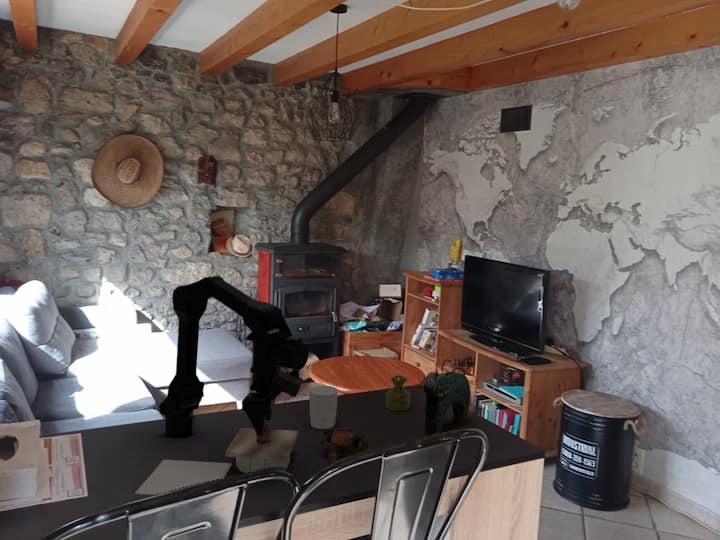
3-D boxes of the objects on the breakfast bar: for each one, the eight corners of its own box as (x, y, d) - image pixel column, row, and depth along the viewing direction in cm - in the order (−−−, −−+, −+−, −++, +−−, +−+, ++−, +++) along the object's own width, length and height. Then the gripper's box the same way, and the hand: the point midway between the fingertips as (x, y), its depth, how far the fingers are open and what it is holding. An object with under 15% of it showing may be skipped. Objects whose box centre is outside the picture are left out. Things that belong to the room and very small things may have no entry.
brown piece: (316, 466, 140) (314, 430, 143) (330, 468, 148) (328, 434, 152) (365, 459, 137) (362, 423, 140) (376, 462, 146) (373, 428, 149)
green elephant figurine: (435, 440, 156) (439, 367, 154) (414, 433, 160) (418, 361, 158) (473, 421, 171) (477, 353, 169) (453, 415, 175) (457, 349, 173)
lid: (225, 460, 131) (225, 438, 130) (240, 435, 145) (241, 415, 144) (288, 464, 130) (288, 441, 129) (297, 438, 144) (298, 418, 143)
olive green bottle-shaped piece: (402, 413, 175) (403, 380, 174) (380, 408, 179) (382, 375, 178) (414, 406, 181) (415, 375, 180) (393, 401, 185) (394, 370, 184)
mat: (134, 496, 122) (134, 493, 122) (163, 462, 138) (163, 459, 138) (211, 500, 121) (211, 498, 121) (232, 465, 137) (232, 463, 137)
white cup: (333, 431, 160) (334, 395, 158) (304, 428, 161) (305, 392, 160) (339, 421, 167) (341, 386, 166) (312, 418, 169) (313, 384, 168)
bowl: (230, 476, 132) (230, 454, 131) (243, 453, 144) (243, 433, 143) (284, 479, 132) (284, 457, 131) (292, 456, 143) (293, 436, 143)
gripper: (294, 375, 125) (292, 446, 127) (306, 352, 144) (304, 414, 146) (241, 372, 126) (240, 443, 127) (260, 350, 144) (259, 412, 146)
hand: (264, 427), depth 137 cm, fingers open, 9 cm apart
